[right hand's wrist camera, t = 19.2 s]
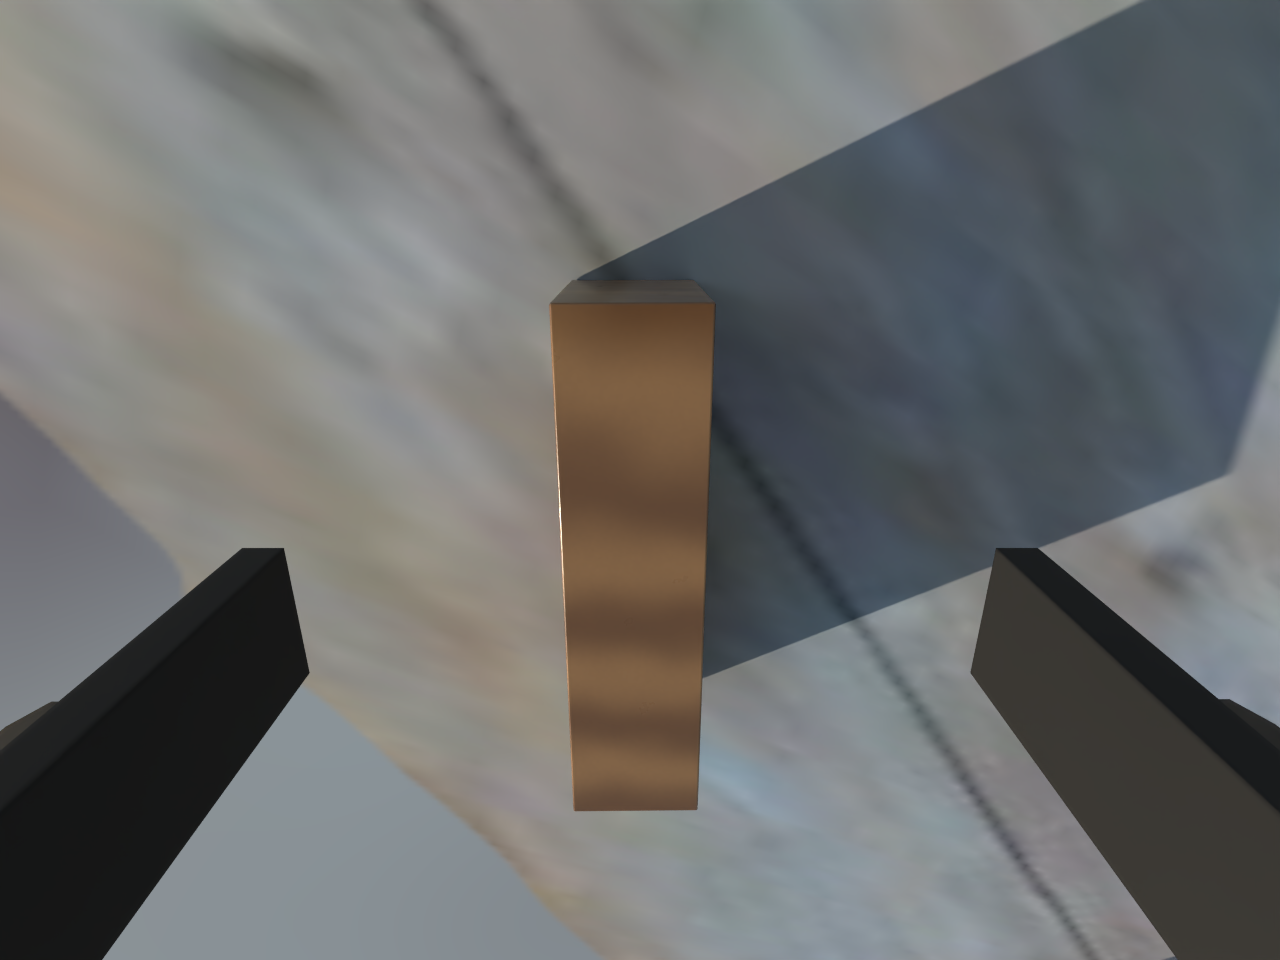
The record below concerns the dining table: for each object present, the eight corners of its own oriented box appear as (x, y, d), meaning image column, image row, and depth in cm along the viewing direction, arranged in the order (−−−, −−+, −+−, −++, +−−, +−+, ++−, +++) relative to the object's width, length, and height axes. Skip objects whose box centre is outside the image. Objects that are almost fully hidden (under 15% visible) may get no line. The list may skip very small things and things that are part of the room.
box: (571, 280, 34) (548, 302, 25) (694, 279, 34) (716, 302, 25) (586, 687, 43) (573, 812, 34) (684, 686, 43) (697, 810, 34)
